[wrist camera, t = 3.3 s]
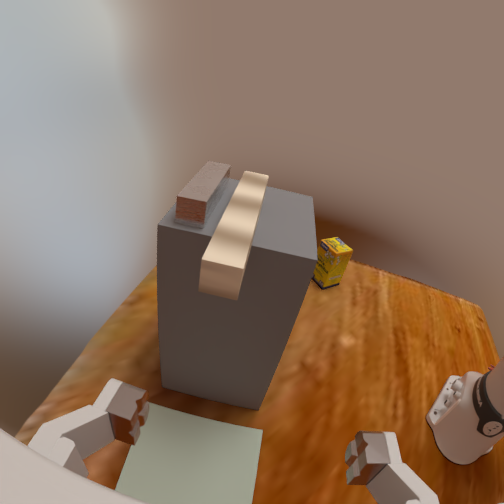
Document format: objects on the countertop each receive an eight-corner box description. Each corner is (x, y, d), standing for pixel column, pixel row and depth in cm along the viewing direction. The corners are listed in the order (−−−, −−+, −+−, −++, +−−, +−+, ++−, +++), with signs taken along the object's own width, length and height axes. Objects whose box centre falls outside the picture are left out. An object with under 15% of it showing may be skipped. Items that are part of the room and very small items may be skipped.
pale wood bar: (203, 229, 31) (206, 201, 30) (175, 222, 31) (176, 195, 30) (227, 186, 41) (231, 165, 40) (205, 182, 41) (208, 160, 40)
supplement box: (308, 275, 80) (320, 239, 74) (324, 271, 83) (337, 236, 77) (322, 290, 76) (336, 253, 70) (339, 285, 79) (353, 249, 73)
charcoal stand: (258, 410, 47) (317, 260, 30) (162, 386, 47) (157, 224, 31) (268, 339, 60) (312, 197, 44) (187, 320, 60) (201, 172, 44)
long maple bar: (237, 300, 24) (243, 268, 22) (198, 291, 24) (201, 259, 22) (264, 197, 40) (268, 175, 39) (241, 192, 41) (245, 170, 39)
